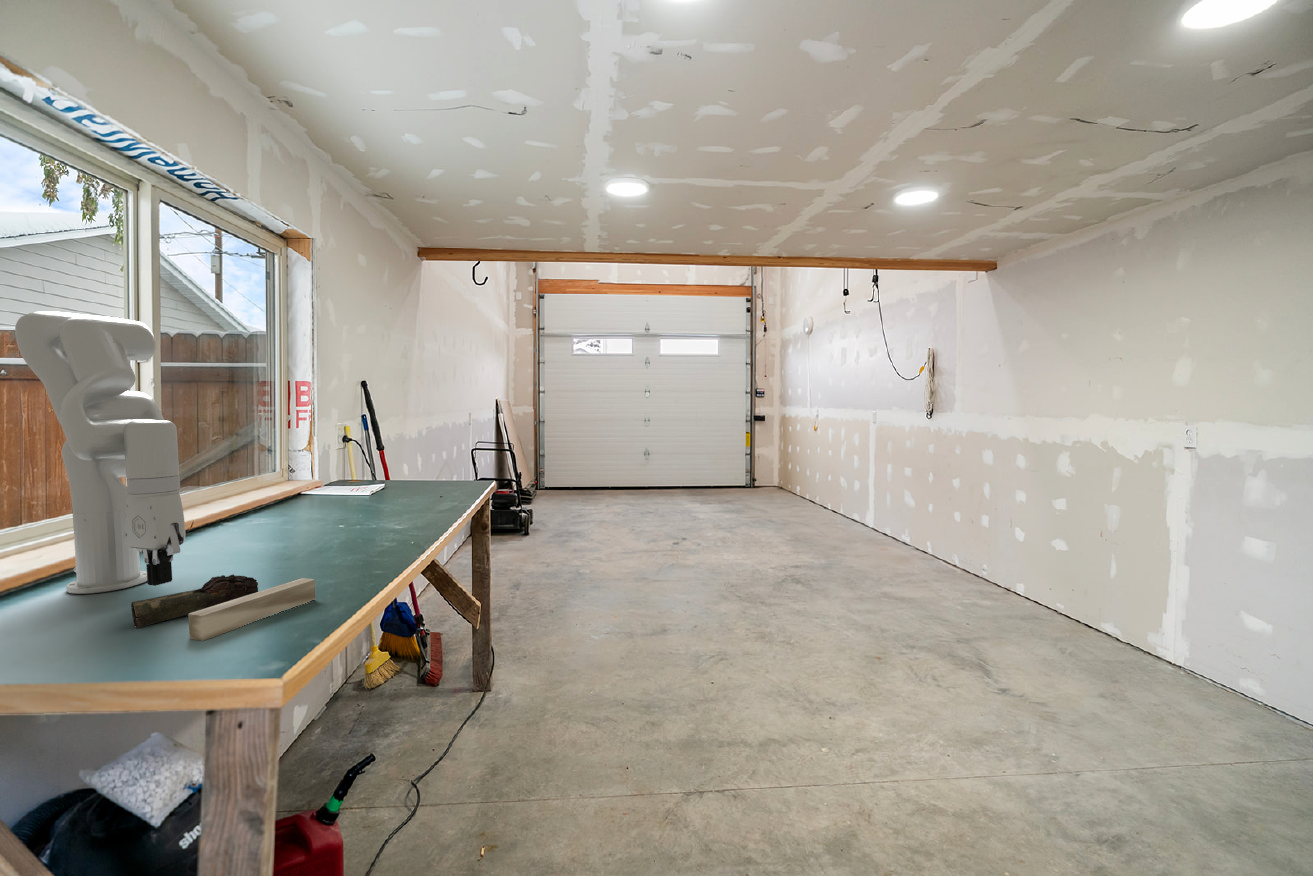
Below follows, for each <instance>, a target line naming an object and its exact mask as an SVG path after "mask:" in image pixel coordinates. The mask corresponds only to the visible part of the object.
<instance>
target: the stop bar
mask: <svg viewBox="0 0 1313 876" xmlns="http://www.w3.org/2000/svg"><path fill="white" fill-rule="evenodd" d="M315 580H316V579H314V578H307V577H302V578H299V579H295V580H292V581H289V582H286V583H282V584H280V585H275V586H273V587H269V588H266V589H263V590H258V592H256V593H253V594H250V595H247V596H243V597H240V598H237V599H234V600H231V601H227V602H224V603H221V604H218V605H215V606H211V607H208V608H205V609H202V610H199V611H195V612H192V613H189V614H188V615H187V616H188V629H189V630H188V631H189V639H190V640H196V641H201V642H203V641H207V640H209V639H212V638H214V637H215V638H216V637H218V636H221V635H223V634H225V633H228V632H231V631H234V630H237V629H240V628H243V627H245V626H247V625H246V624H248V623H251V624H253V623H252V622H254V621H256V620H258V619H261V618H265V617H268V616H270V615H272V614H276V613H279V612H281V611H283V610H285V609H290V608H292V607H295V606H297V605H301V604H304V605H306V604H308V603H307V602H309V601H311V600H315V601H316V581H315ZM305 603H306V604H305ZM309 603H310V602H309ZM301 606H302V605H301ZM295 608H296V607H295ZM290 610H291V609H290ZM281 613H282V612H281ZM279 614H280V613H279ZM276 615H277V614H276ZM270 617H271V616H270ZM268 618H269V617H268ZM265 619H266V618H265ZM254 623H255V622H254ZM244 625H245V626H244ZM248 625H249V624H248ZM242 626H243V627H242ZM239 627H240V628H239Z"/></svg>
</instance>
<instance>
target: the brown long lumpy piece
mask: <svg viewBox="0 0 1313 876" xmlns="http://www.w3.org/2000/svg"><path fill="white" fill-rule="evenodd" d="M256 592H259V582H258V581H257V579H255V578H254V577H252V576H251V577H248V576H246V575H234V573H233V574H230V575H228V576H226V575H219V576H218V575H217V576H212V577H211V578H210V579H209V580H208V581H206V582H205V583H204V584H203V585H202V587H201V588H198V589H197V588H196V589H192V590H187V591H183V592H181V591H180V592H175V593H171V594H168V595H161V596H156V597H150V598H145V599H141V600H133V601H132V602H130V603H131V605H130V608H131V615H132V620H133V625H134V627H135V626H136V627H135V628H136V629H139V628H143V627H146V626H149V625H153V623H155V624H158V623H161V621H162V622H166V621H169V620H172V619H176V618H180V617H184V616H188V614H189V613H192V612H195V611H199V610H202V609H205V608H208V607H211V606H215V605H218V604H221V603H224V602H227V601H231V600H234V599H237V598H240V597H243V596H247V595H250V594H253V593H256ZM165 620H166V621H165ZM157 622H158V623H157ZM138 627H139V628H138Z"/></svg>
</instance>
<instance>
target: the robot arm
mask: <svg viewBox="0 0 1313 876" xmlns="http://www.w3.org/2000/svg"><path fill="white" fill-rule="evenodd" d="M14 335H15V341H16V345H17V347H18V350H19V353H20V355H21V357H22V359H23V361H24V362H25V363H26V364H27V366H28V368H29V369H30V370H31V371H32V372H33V373H34V374H35V376H36V377H37V378H38V379H39V381H40V382H41V383H42V384H43V386H44V388H45V391H46V394H47V397H48V399H49V403H50V404H51V406H52V409H53V411H54V414H55V417H56V419H57V422H58V423H59V425H60V427H61V429H62V432H63V434H64V436H65V438H66V440H65V441H64V442H63V445H62V448H61V457H62V463H63V465H64V469H65V472H66V476H67V479H68V484H69V489H70V496H71V499H70V500H71V510H72V511H71V512H72V522H73V523H72V524H73V539H74V540H73V543H74V556H75V557H74V558H75V559H74V560H75V567H74V568H73V573H74V572H75V573H76V574H75V575H76V580H73V581H71V582H69V583H68V584H66V586H65V587H66V592H67V593H69V594H74V595H75V594H77V595H82V594H83V595H85V594H96V593H98V594H99V593H105V592H112V591H117V590H122V589H126V588H131V587H134V586H138V585H142V584H143V583H146V582H147V585H148V586H153V587H154V586H155V587H157V586H160V585H164V584H168V583H171V582H172V581H173V569H172V568H173V567H172V562H173V560H174V555H175V554H180V553H181V545H183V544H184V543H185V541H186V524H185V514H184V509H183V503H182V499H181V494H180V493H181V491H182V490H181V479H180V478H181V477H180V466H179V465H180V463H179V461H180V460H179V445H178V444H179V443H178V430H177V429H178V428H177V426H176V424H175V423H174V422H172V421H170V420H165V418H164V416H163V414H162V412H161V410H160V407H159V406H158V403H157V402H156V401H155V399H154V398H153V397H152V396H150V395H148V394H147V393H145V392H141V391H136V390H135V391H134V390H130V389H132V388H133V386H134V385H135V383H136V373H135V372H134V370H133V367H132V365H131V364H130V361H139V362H142V361H144V362H145V361H148V360H150V359H152V357H153V356H154V355H155V353H156V349H157V345H156V344H157V343H156V339H155V336H154V334H153V331H151V329H150V328H149V327H148V326H147V325H146V324H145V323H144V322H141V321H139V320H137V321H136V320H130V319H125V318H119V317H114V316H113V317H111V316H103V315H91V314H81V313H73V312H61V311H33V312H29V313H25V314H24V315H22V316H21V317H19V318H18V320H17V321H16V323H15V329H14ZM124 477H125V479H126V485H125V484H124V483H123V482H122V481H121V480H120V479H119V478H124ZM140 553H141V554H142V555H143V562H144V563H145V564H146V570H141V563H140V559H141V558H140Z"/></svg>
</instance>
